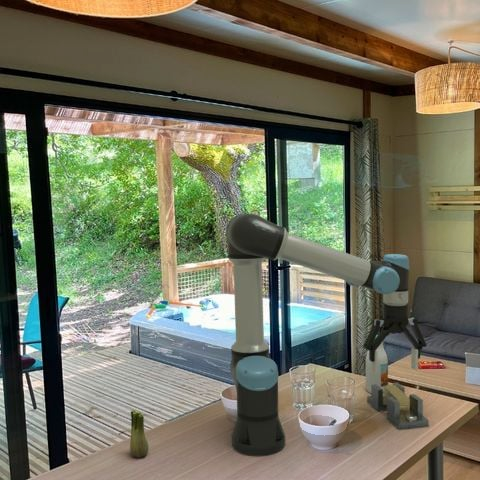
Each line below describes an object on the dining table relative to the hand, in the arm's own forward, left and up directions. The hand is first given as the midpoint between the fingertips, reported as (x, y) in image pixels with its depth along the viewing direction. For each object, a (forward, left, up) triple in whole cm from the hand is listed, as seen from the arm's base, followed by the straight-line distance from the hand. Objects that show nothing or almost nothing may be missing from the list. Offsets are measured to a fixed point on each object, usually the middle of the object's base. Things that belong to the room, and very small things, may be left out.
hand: (394, 370), depth 162 cm
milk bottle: (+3, +20, -14) cm, 25 cm away
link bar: (+1, 0, -12) cm, 12 cm away
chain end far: (0, +7, -14) cm, 16 cm away
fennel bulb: (-80, -9, -14) cm, 81 cm away
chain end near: (0, -7, -14) cm, 16 cm away
